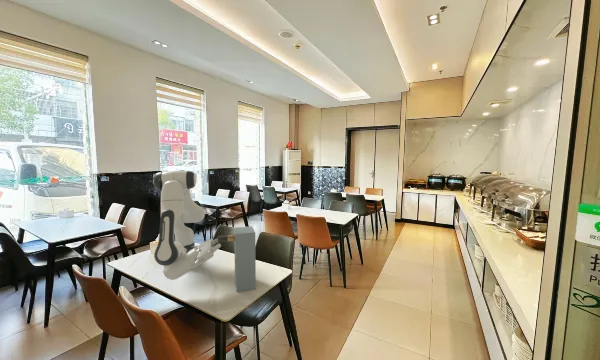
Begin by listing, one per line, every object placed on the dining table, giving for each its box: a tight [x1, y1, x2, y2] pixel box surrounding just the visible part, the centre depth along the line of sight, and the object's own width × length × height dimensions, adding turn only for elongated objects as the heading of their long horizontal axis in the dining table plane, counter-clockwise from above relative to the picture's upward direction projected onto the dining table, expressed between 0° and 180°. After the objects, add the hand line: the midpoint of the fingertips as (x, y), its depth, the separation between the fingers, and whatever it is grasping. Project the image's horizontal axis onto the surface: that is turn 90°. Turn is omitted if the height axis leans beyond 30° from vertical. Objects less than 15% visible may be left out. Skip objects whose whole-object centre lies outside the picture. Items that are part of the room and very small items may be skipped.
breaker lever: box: [217, 234, 235, 244], centre depth 132 cm, size 3×16×3 cm, turn 109°
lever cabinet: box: [233, 226, 257, 293], centre depth 135 cm, size 13×11×31 cm
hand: (220, 241), depth 130 cm, fingers open, 8 cm apart
